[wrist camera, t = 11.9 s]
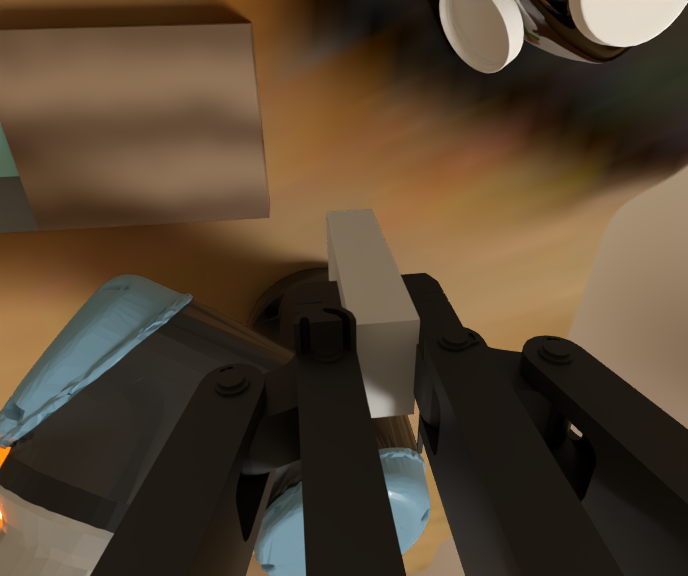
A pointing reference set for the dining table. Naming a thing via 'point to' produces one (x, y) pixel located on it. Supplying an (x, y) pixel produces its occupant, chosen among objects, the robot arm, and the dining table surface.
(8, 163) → the card
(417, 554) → the dining table surface
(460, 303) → the dining table surface
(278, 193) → the dining table surface
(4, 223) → the mat
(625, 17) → the spread jar
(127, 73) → the brown flat block
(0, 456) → the orange juice
